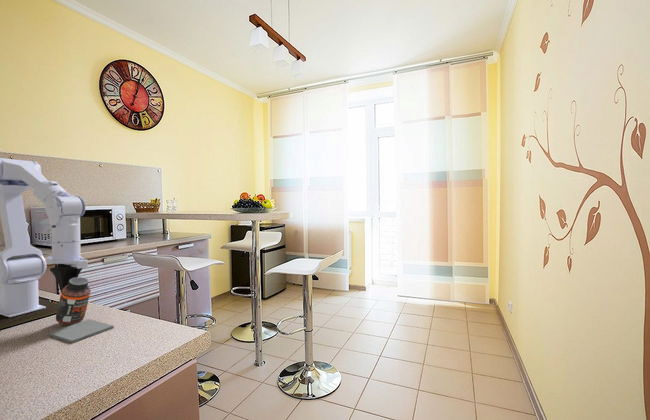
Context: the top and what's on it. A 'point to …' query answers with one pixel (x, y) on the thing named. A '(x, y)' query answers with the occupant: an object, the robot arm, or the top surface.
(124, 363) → the top surface
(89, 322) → the mat
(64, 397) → the top surface
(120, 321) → the top surface
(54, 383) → the top surface
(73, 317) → the supplement bottle
